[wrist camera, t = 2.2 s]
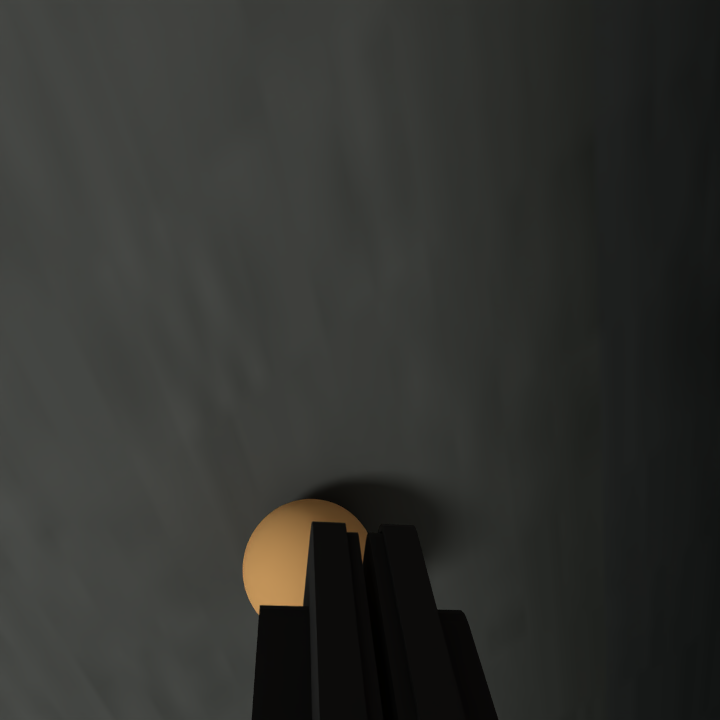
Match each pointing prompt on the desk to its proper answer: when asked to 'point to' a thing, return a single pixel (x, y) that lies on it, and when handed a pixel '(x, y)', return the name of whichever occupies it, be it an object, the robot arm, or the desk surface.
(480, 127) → the desk surface
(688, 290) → the desk surface
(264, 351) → the desk surface
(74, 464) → the desk surface
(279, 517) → the ball
